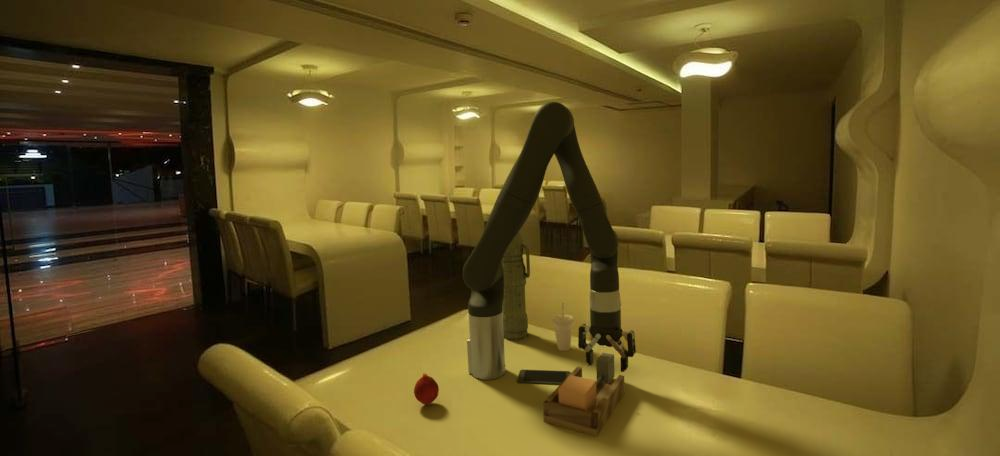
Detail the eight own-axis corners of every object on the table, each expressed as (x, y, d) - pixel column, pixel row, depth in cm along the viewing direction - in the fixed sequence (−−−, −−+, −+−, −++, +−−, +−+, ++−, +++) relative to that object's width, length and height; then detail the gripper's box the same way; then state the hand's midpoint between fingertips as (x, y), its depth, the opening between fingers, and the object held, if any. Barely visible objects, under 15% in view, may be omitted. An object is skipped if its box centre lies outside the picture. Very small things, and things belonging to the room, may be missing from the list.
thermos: (500, 329, 158) (495, 229, 153) (534, 331, 155) (530, 228, 150) (494, 339, 149) (489, 233, 144) (529, 341, 146) (526, 233, 142)
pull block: (585, 426, 97) (584, 394, 96) (559, 419, 100) (558, 388, 99) (620, 377, 118) (619, 351, 117) (597, 373, 121) (597, 347, 120)
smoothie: (573, 344, 142) (572, 300, 140) (575, 352, 136) (574, 307, 134) (553, 344, 143) (551, 300, 141) (553, 352, 137) (552, 307, 135)
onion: (443, 400, 112) (441, 369, 110) (432, 412, 106) (430, 380, 105) (422, 397, 113) (420, 366, 112) (410, 409, 108) (408, 377, 107)
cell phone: (520, 371, 126) (520, 369, 126) (571, 373, 123) (571, 371, 123) (516, 384, 119) (516, 381, 119) (570, 386, 116) (570, 384, 116)
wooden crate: (596, 436, 94) (596, 416, 94) (543, 421, 100) (543, 402, 100) (624, 393, 111) (624, 375, 110) (577, 383, 117) (577, 366, 117)
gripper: (572, 307, 115) (575, 368, 117) (629, 314, 108) (630, 379, 110) (583, 299, 122) (585, 357, 124) (637, 305, 114) (638, 366, 116)
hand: (606, 367), depth 117 cm, fingers open, 8 cm apart
